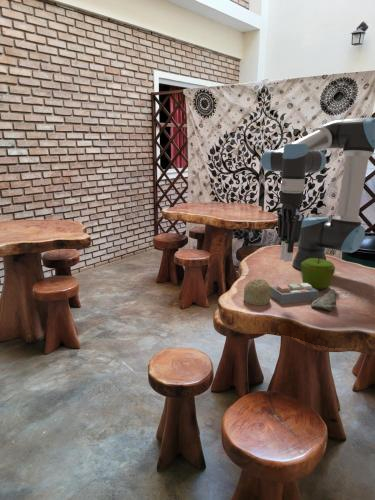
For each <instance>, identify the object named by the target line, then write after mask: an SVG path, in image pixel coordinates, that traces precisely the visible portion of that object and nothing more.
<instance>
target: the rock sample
mask: <svg viewBox="0 0 375 500" xmlns="http://www.w3.org/2000/svg"><path fill="white" fill-rule="evenodd" d="M336 299H337V298H336V291H335V288H332V289H330V290H329V291H328V292H327V293H325V294H323V295H322V296H318V298H317V299H316V300H313V301H312V302H311V304H310V306H311V307H312V308H314V309H320V310H321V309H323V310H326V311H329V312H333V311H334V309H335V307H336V306H337V300H336Z"/></svg>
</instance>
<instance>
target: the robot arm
mask: <svg viewBox="0 0 375 500" xmlns="http://www.w3.org/2000/svg"><path fill="white" fill-rule="evenodd" d="M328 149H342V153H343V154H344V156H345V160H344V167H343V173H342V177H341V184H340V190H339V194H338V195H339V196H338V200H337V201H338V202H337V206H336V208H337V209H336V213H335V215H333V216H332V217H331V221H330V220H329V217H326V216H312V217H305V215H304V214H301V211H300V206H301V205H302V204H303V202H304V193H303V192H305V181H306V174H310V173H311V174H315V173H319V172H321V171H323V169H324V168H325V167H326V165H327V157H326V155H325V153H324V152H323V151H326V150H328ZM374 154H375V117H366V116H365V117H359V118H358V117H356V118H345V119H342V118H341V119H337V120H332V121H330V122H327V123H325V124H323V125H320V126H318V127H315V128H314V130H312V132H311V133H310V134H307V135H305V136H303V137H302V138H299V139H297V140H295V141H292V142H289V143H287V142H286V143H285V145H283V147H281V148H278V149H269V150H266V151H265V152H263V154H262V156H261V166H262V168H263V170H264V171H266V172H267V171H269V172H281V177H280V178H281V179H280V191H281V192H279V201H278V202H279V203H280V204H281V208H280V209H277V210H276V213H277V237H278V238H279V239H280V241H281V242H280V243H281V244H280V257H279V260H281V261H283V262H285V263H286V262H292V267H293V268H294V267H295V268H294V269H296V268H297V270H299V271H302V270H301V263H302V262H303V261H305V260H306V259H309V258H317V259H323V260H327V256H326V252H325V251H326V249H328V250H329V249H330V250H332V251H333V250H334V251H338V252H339V251H340V252H342V253H349V254H350V253H351V254H352V253H355V252H356V251H358V250H359V249H360V248H361V246H362V243H363V242H364V239H365V236H366V232H365V231H366V229H365V227H364V226H363V225H362V220H361V219H360V217H359V215H360V209H361V204H362V198H363V197H362V196H363V191H364V186H365V181H366V175H367V169H368V163H369V159H370V157H372V156H373V155H374ZM295 243H298V245H297V246H298V247H297V251H296V253H295V256H294V258H293V255H294V254H293V253H294V249H295V248H294V246H295Z"/></svg>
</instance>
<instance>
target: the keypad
mask: <svg viewBox="0 0 375 500" xmlns="http://www.w3.org/2000/svg"><path fill="white" fill-rule="evenodd" d="M296 284H297V285H299V284H300V283H296ZM285 285H286V286H288V285H289V284H285ZM277 286H278V285H277ZM277 286H271V298H273V299H274V300H275V301H277V302H278V303H279V304H280V305H285V304H286V305H287V304H294V303H295V304H296V303H303V302H311V301H312V302H313V300H316V299H317V298H319V289H314V288H312V289H311V290H302V289H301V290H295V291H291V290H290V292H282V293H281V292H280V291H278V290H277Z"/></svg>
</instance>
